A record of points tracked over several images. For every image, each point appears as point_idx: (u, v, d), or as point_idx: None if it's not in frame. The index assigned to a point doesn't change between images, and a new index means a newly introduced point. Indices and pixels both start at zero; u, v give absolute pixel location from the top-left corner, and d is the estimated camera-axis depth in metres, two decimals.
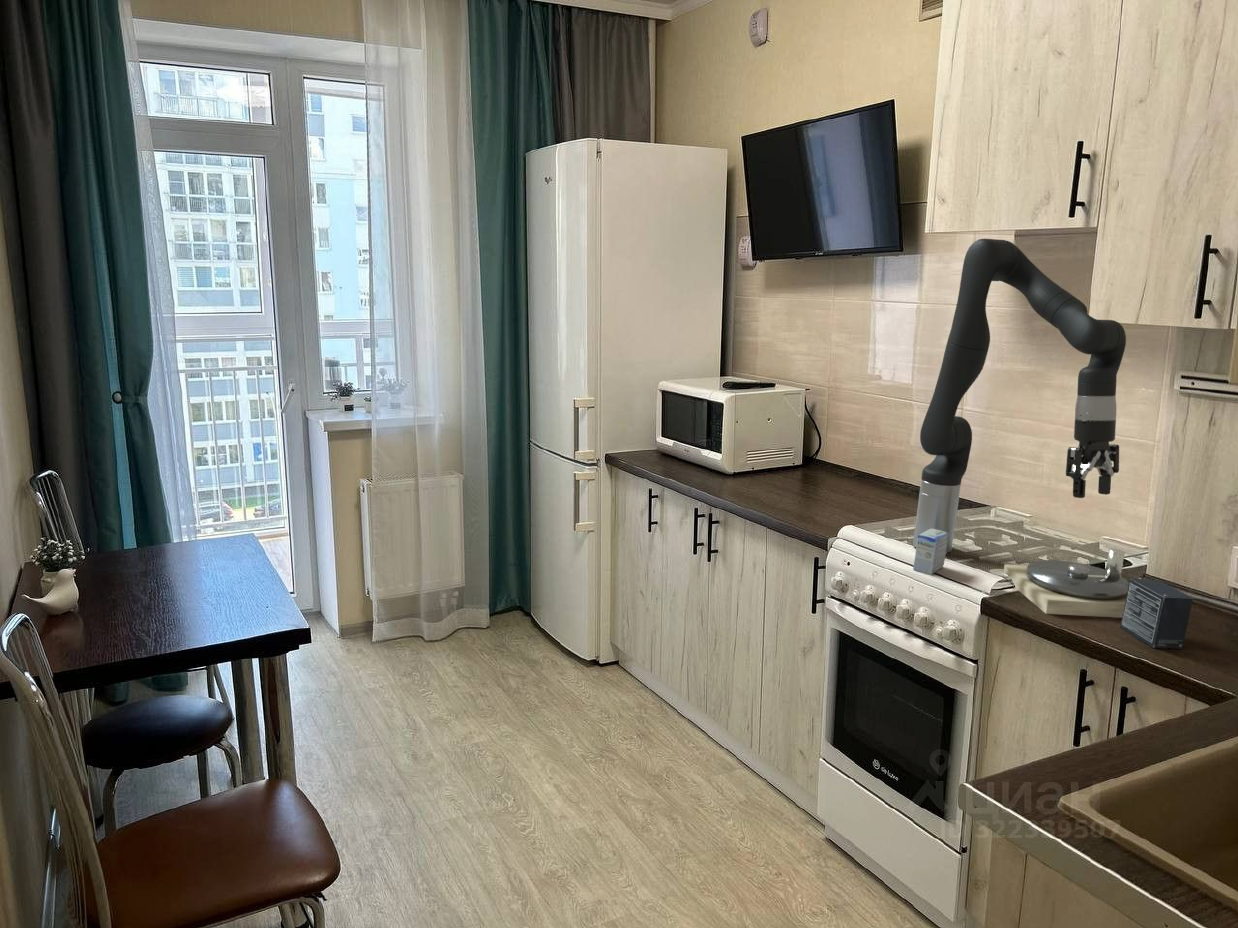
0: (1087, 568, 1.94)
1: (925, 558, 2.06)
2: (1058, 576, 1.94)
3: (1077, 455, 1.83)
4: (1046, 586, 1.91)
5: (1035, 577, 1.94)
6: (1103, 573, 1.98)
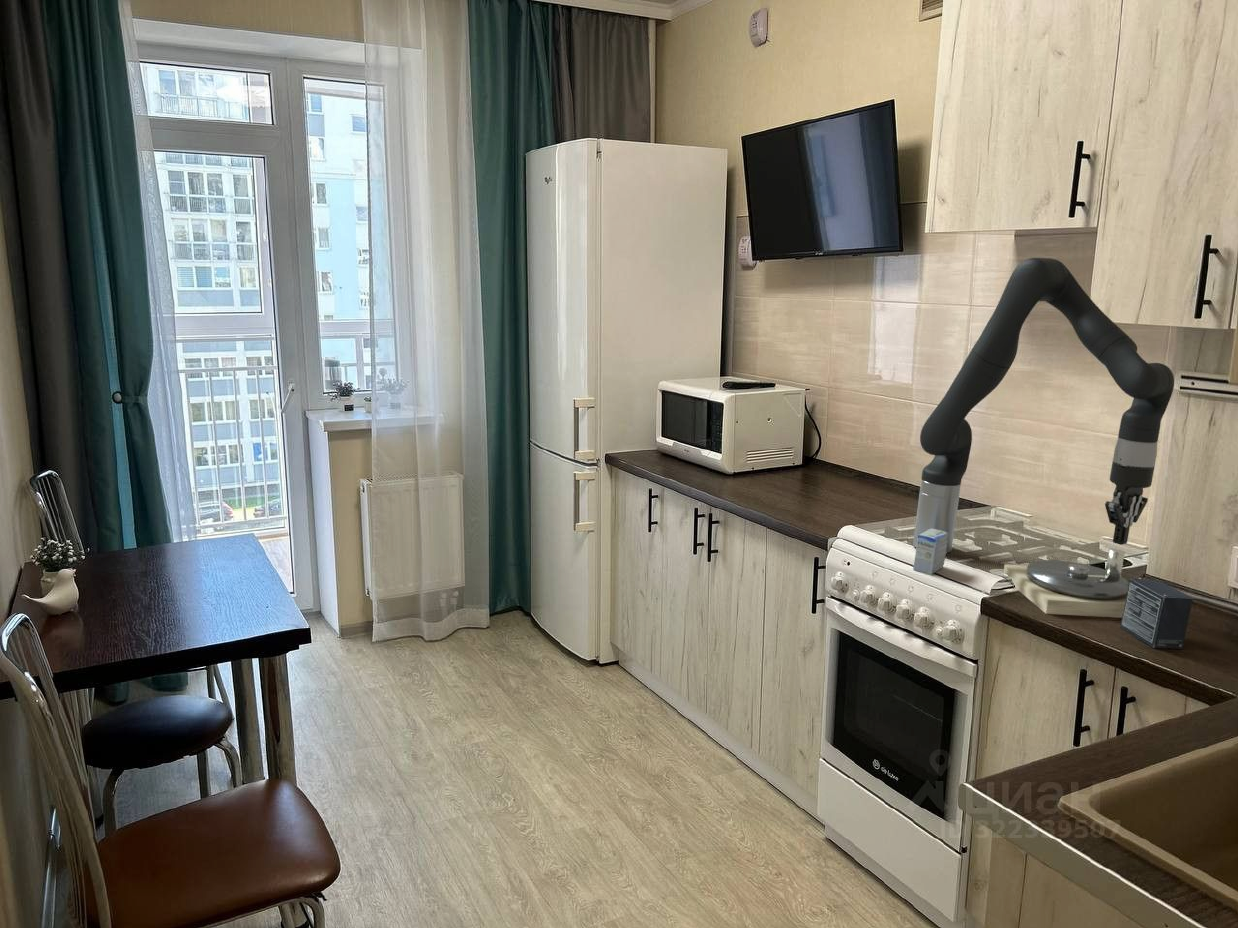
0: (1087, 568, 1.94)
1: (925, 558, 2.06)
2: (1058, 576, 1.94)
3: (1117, 511, 1.82)
4: (1046, 586, 1.91)
5: (1035, 577, 1.94)
6: (1103, 573, 1.98)
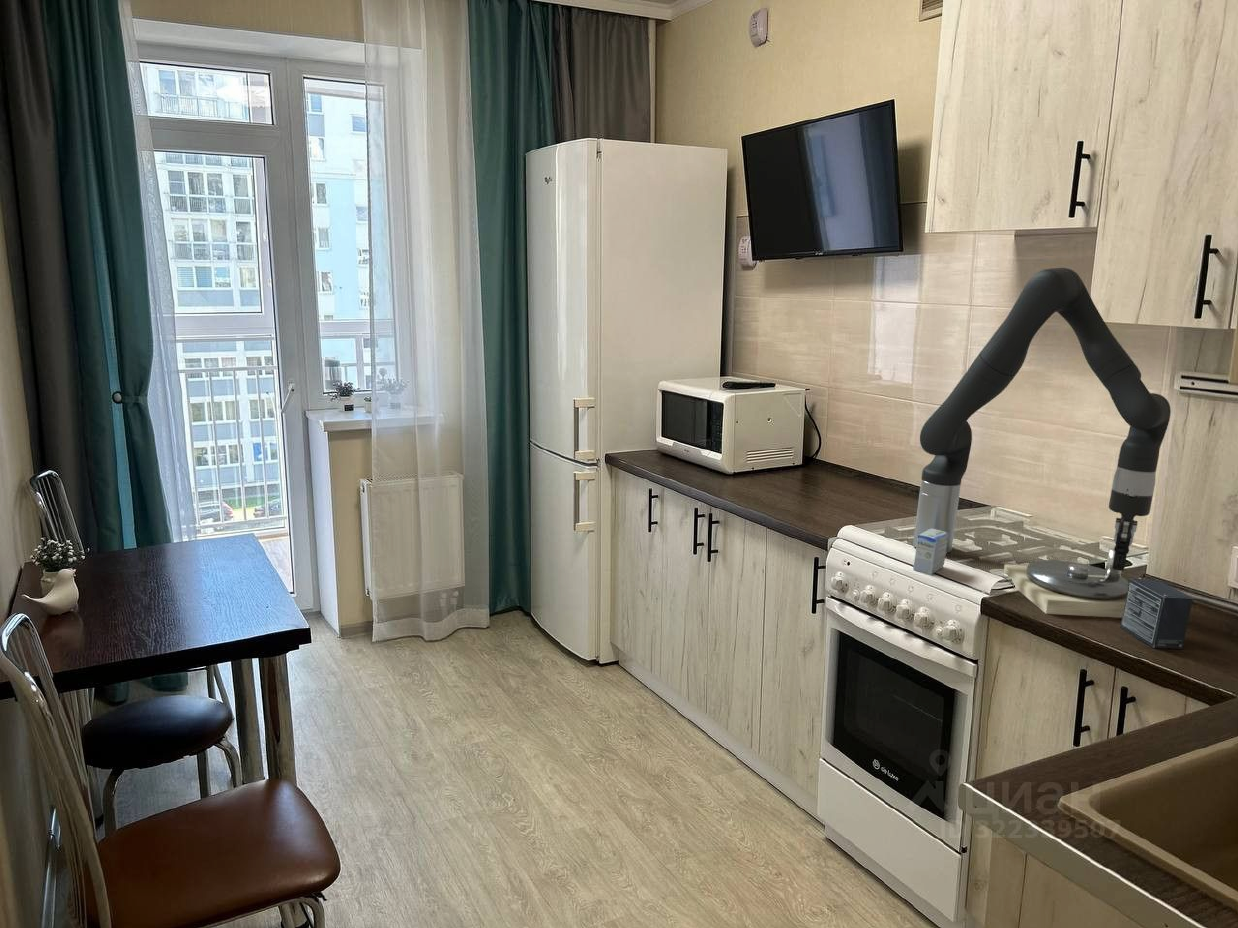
0: (1087, 568, 1.94)
1: (925, 558, 2.06)
2: (1058, 576, 1.94)
3: (1129, 541, 1.84)
4: (1046, 586, 1.91)
5: (1035, 577, 1.94)
6: (1103, 573, 1.98)
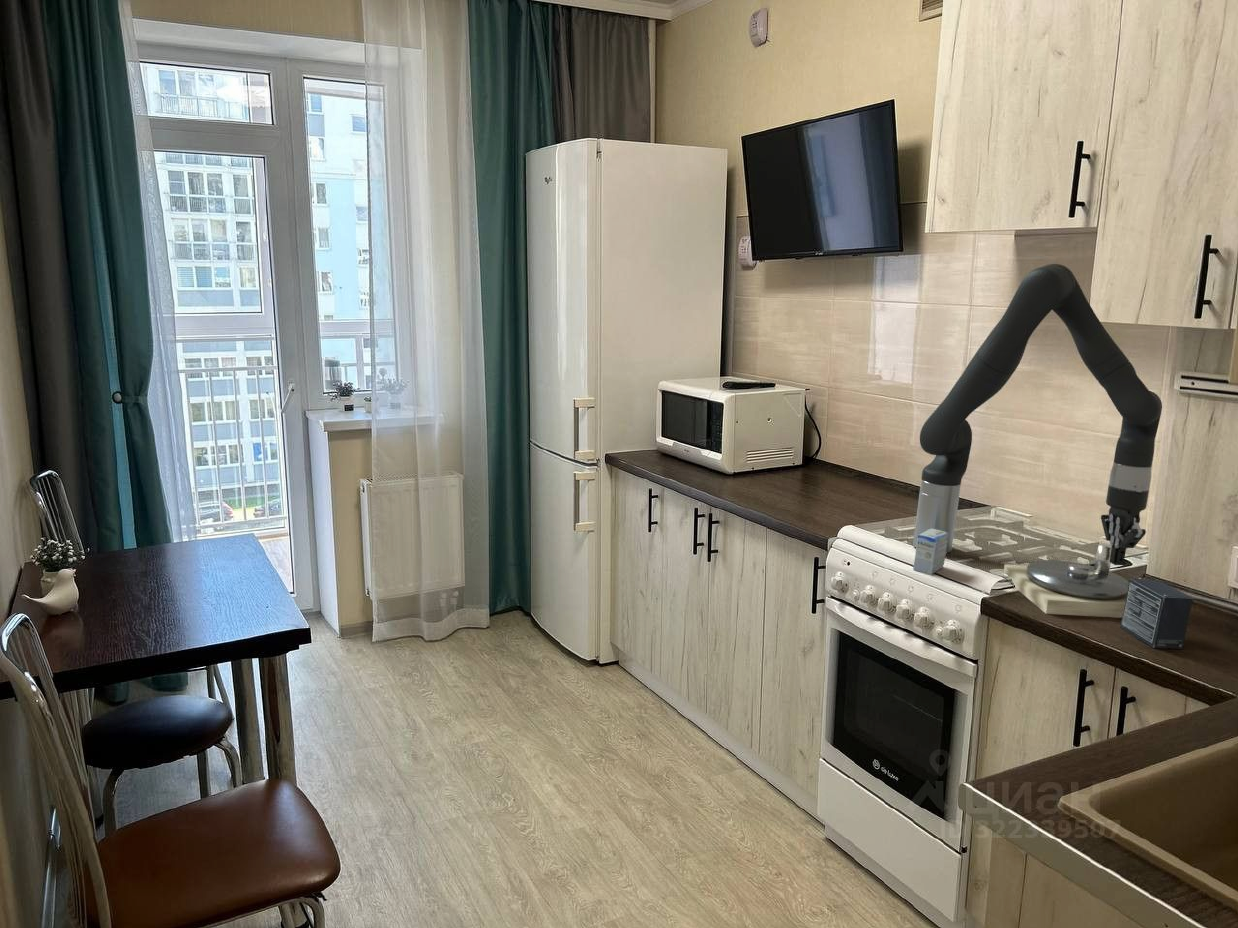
0: (1087, 567, 1.95)
1: (925, 558, 2.06)
2: (1067, 579, 1.92)
3: (1142, 536, 1.87)
4: (1067, 593, 1.88)
5: (1052, 584, 1.90)
6: (1090, 569, 2.00)
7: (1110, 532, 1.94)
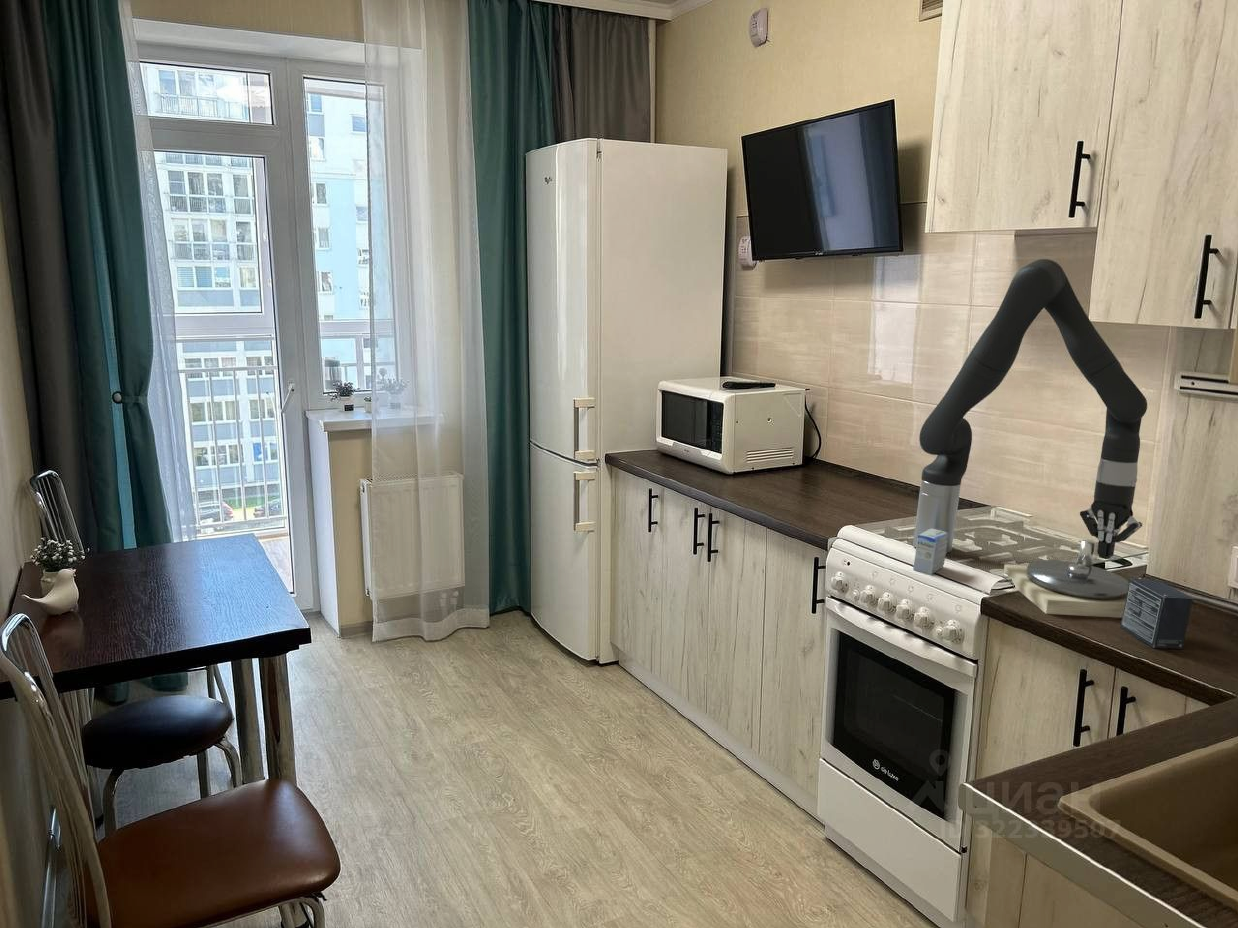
0: (1084, 566, 1.96)
1: (925, 558, 2.06)
2: (1079, 582, 1.91)
3: None
4: (1094, 597, 1.86)
5: (1077, 590, 1.87)
6: None
7: (1099, 528, 1.97)
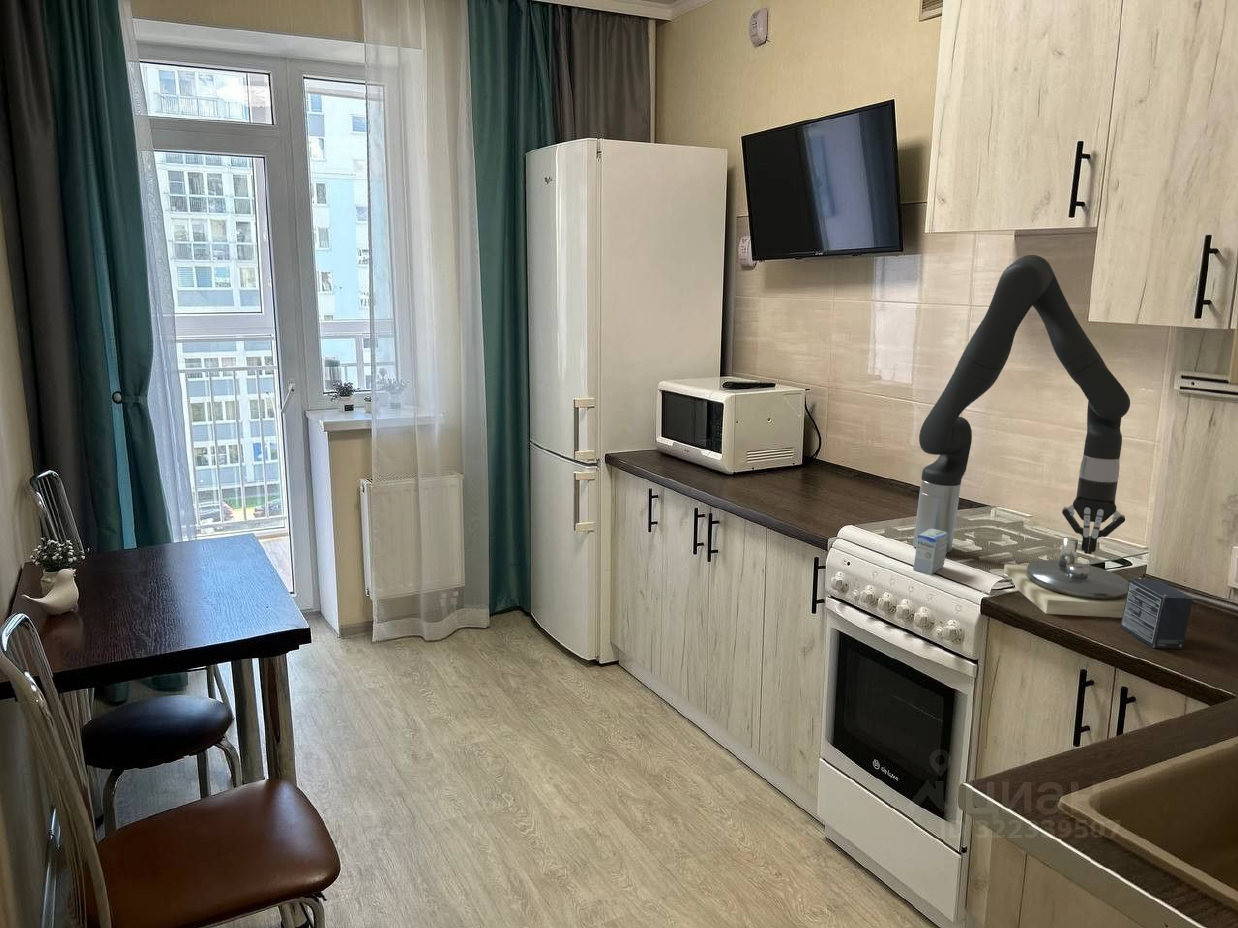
0: (1081, 565, 1.96)
1: (925, 558, 2.06)
2: (1091, 583, 1.91)
3: None
4: (1115, 597, 1.87)
5: (1102, 593, 1.86)
6: (1057, 564, 2.02)
7: (1086, 525, 1.98)
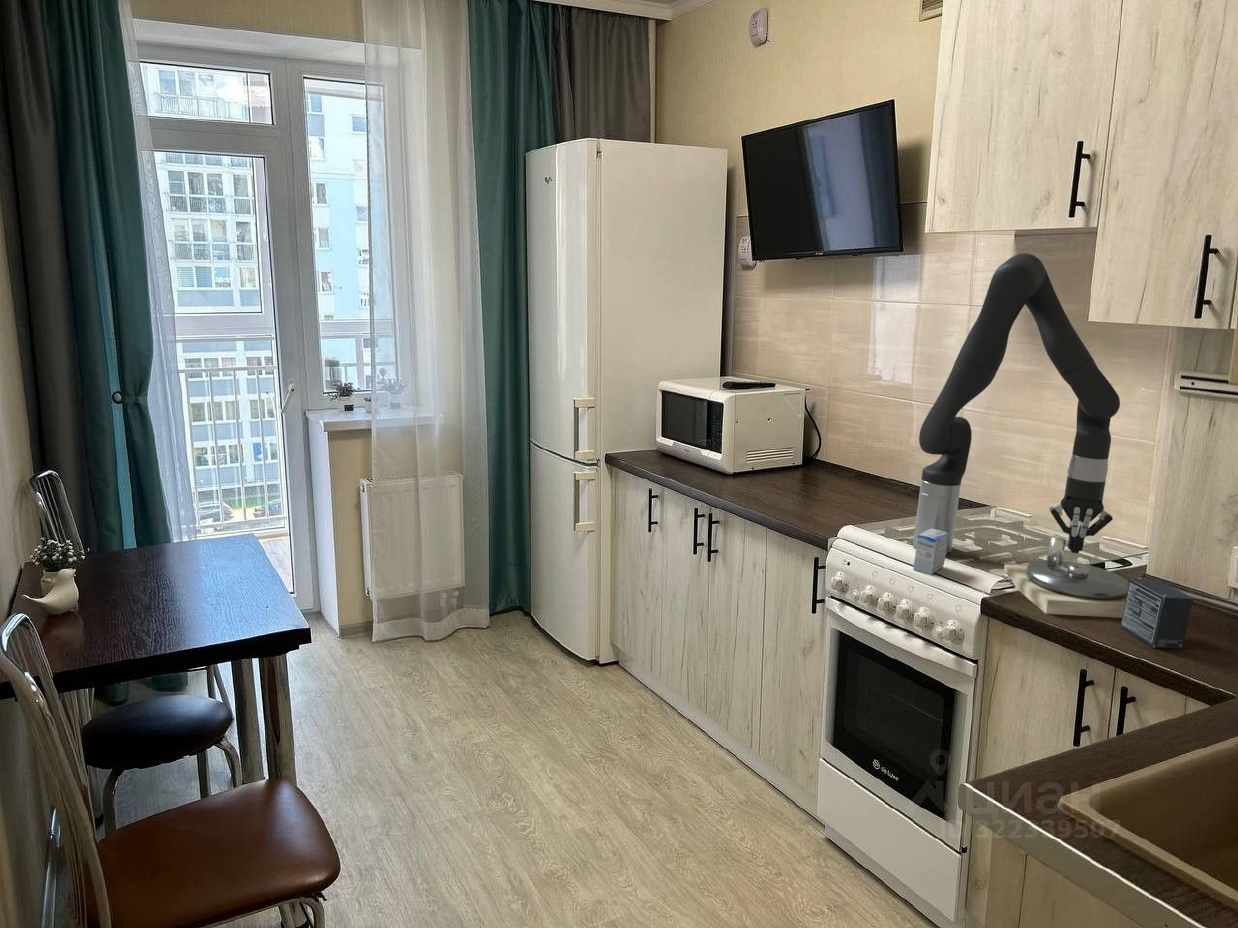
0: (1077, 564, 1.97)
1: (925, 558, 2.06)
2: (1098, 583, 1.91)
3: None
4: (1126, 594, 1.89)
5: (1118, 592, 1.87)
6: (1048, 565, 2.01)
7: (1075, 524, 1.99)
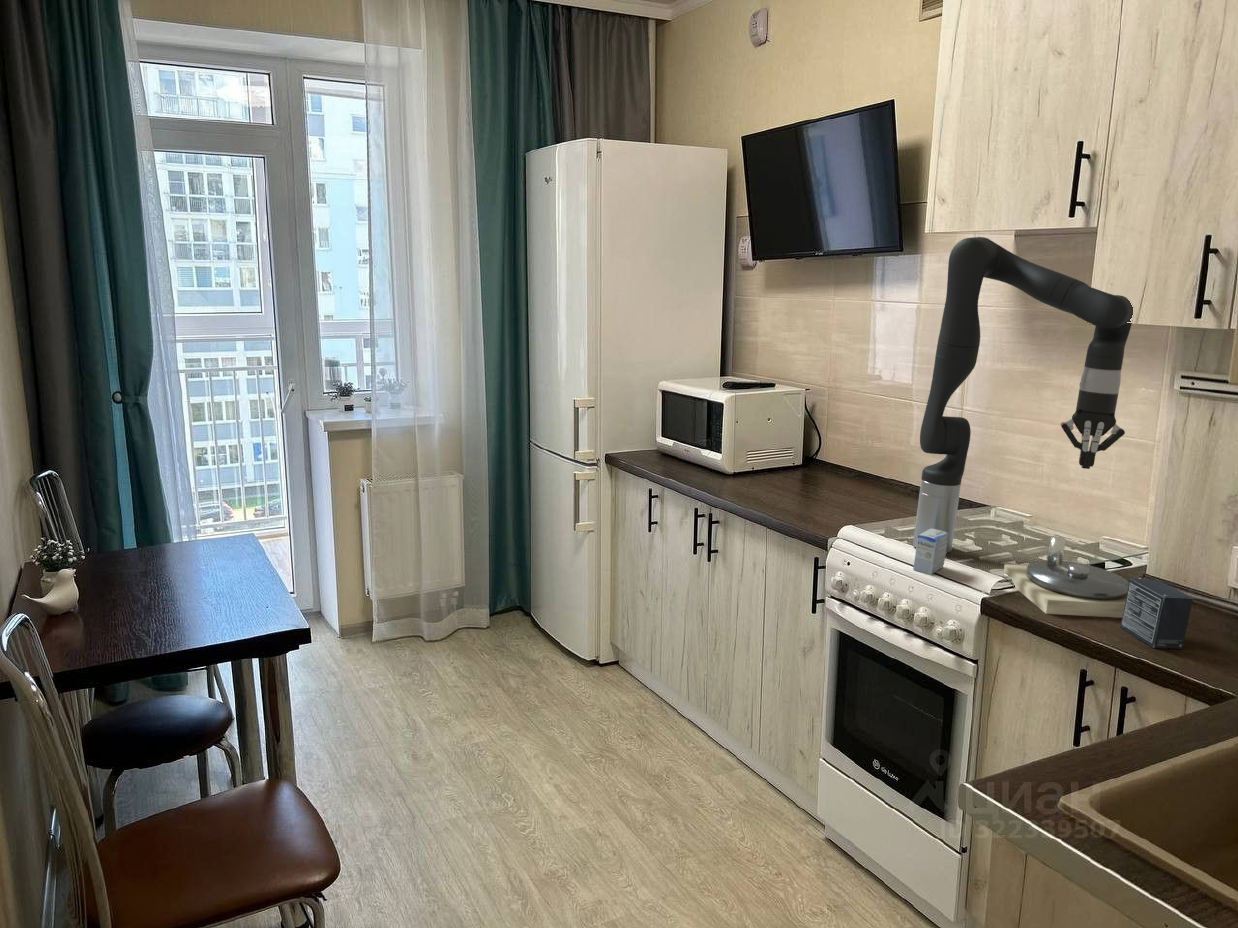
0: (1077, 564, 1.97)
1: (925, 558, 2.06)
2: (1098, 583, 1.91)
3: None
4: (1126, 594, 1.89)
5: (1118, 592, 1.87)
6: (1048, 565, 2.01)
7: (1086, 438, 1.96)
